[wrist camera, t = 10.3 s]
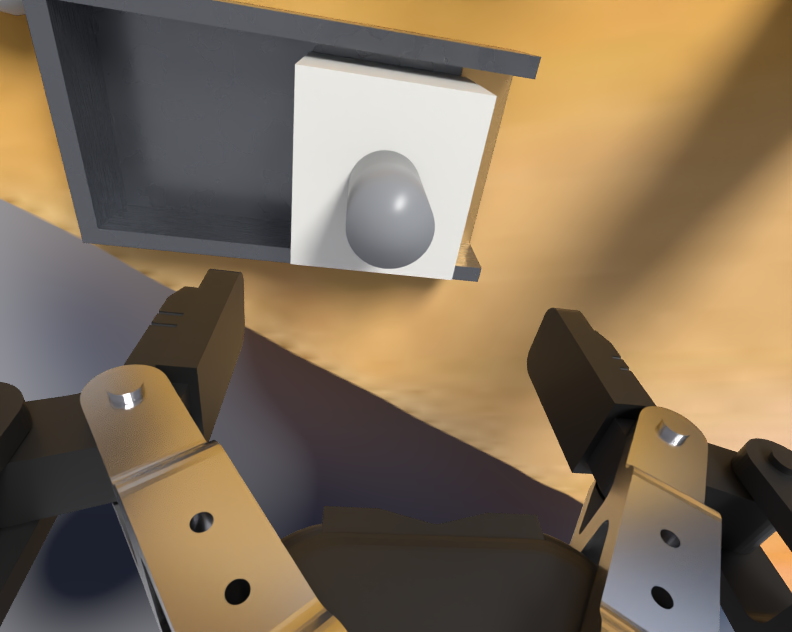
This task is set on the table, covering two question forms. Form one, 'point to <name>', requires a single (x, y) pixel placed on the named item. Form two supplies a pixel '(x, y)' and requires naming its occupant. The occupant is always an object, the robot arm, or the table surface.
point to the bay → (213, 115)
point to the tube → (12, 7)
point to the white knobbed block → (383, 165)
